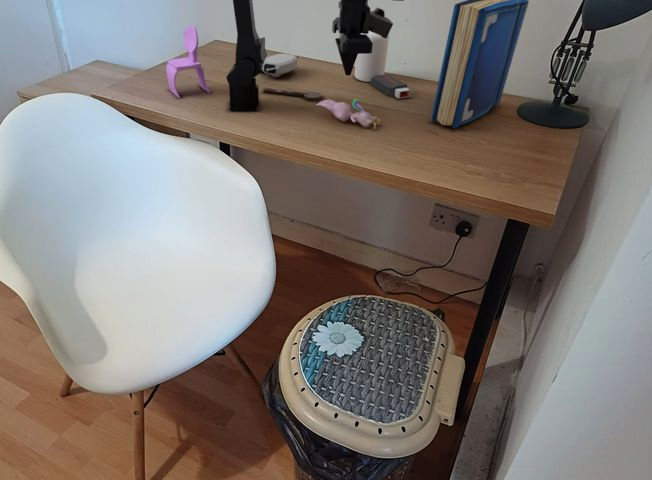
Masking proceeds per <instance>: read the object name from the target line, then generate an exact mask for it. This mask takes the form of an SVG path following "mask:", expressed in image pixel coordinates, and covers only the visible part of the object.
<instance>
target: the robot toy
mask: <svg viewBox="0 0 652 480" xmlns="http://www.w3.org/2000/svg"><path fill="white" fill-rule="evenodd" d="M298 58H303V55H302V54H301V55H298V56H296V55H295V54H290V53H276V54H273V55H269V54H268V53H267V57H266V59H265V61H264V64H263V66H262V68H261V70H260V71H262V72H264V73H265V74H268V75H270V76H272V77H273V78H278V77H281V76H282V75H285V74H287V73H290V72H292V71H294V70H295V69H296V68H297V66H298Z"/></svg>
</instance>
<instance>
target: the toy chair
mask: <svg viewBox="0 0 652 480" xmlns="http://www.w3.org/2000/svg"><path fill="white" fill-rule="evenodd" d="M183 47H184V48H185V50H186V51H187V52H188V56H186V57H182V58H181V57H180V58H176V59H175V58H173V59H172V58H171V59H167V61H166V63H167V64H166V66H165V67H166V69H165V70H166V77H167V81H168V87H169V90H170V91H171V92H172V94H174V96H175V97H177V98H178V99H180V98H181V96H180V94H179V92H178V89H177V85H176V77H177V74H178V73H179V72H183V71H186V70H192V69H194V70H195V73H196V76H197V82H198V85H199V87H201V88H202V89H203V90H204V91H205V92H206V93H208V94H209V93H210V90H209V88H208V84H207V82H206V77H205V71H204V68H203V67H202V63H201V62H200V61H199V60H198V48H199V35H198V30H197V28H196V26H192V25H191V26H190V25H189V26H188V27H186V28H185V29H184V31H183Z"/></svg>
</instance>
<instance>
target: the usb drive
mask: <svg viewBox="0 0 652 480" xmlns="http://www.w3.org/2000/svg"><path fill="white" fill-rule="evenodd" d="M370 86H371V87H373V88H374V89H376V90H378V91H379V92H381V93H383V94H385V95H386V96H388V97H392V98H397V99H398V100H400V99H405V98H410V97H411V89H410V88H408V84H406V83H405V82H403V81H401V80H399V79H398V78H396V77H394V76H392V75H391V74H389V73H384V75H377V76H373V77H372V78H371V82H370Z"/></svg>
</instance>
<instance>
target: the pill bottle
mask: <svg viewBox="0 0 652 480" xmlns="http://www.w3.org/2000/svg"><path fill="white" fill-rule="evenodd" d="M361 34H363V33H361ZM366 35H367V36H368V37H369V38H370V40H371V41H372V43H373V46H372V53H370V54H358V55H357V58H356V61H355V65H354V66H355V67H354V78H355V79H356V80H358V81H361V82H364V83H365V82H366V83H371V78H372V77H373V76H377V75H384V74H385V69H386V62H387V56H388V49H389V42H390V33H389V34H388V36H387V38H383V37H381V35H378V34H376V33H373V32H371V31H369V33H368V34H366Z"/></svg>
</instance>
